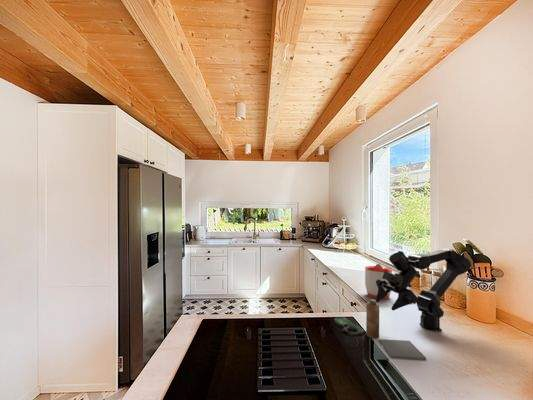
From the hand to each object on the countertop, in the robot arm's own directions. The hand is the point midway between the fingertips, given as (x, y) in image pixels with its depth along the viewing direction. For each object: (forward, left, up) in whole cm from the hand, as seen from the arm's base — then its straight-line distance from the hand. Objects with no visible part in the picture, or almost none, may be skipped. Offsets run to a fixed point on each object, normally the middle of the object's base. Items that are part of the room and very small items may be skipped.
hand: (383, 305), depth 110 cm
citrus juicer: (-16, -51, -12) cm, 55 cm away
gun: (+14, -5, -12) cm, 20 cm away
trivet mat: (-2, +12, -12) cm, 17 cm away
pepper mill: (+5, +2, -12) cm, 13 cm away
